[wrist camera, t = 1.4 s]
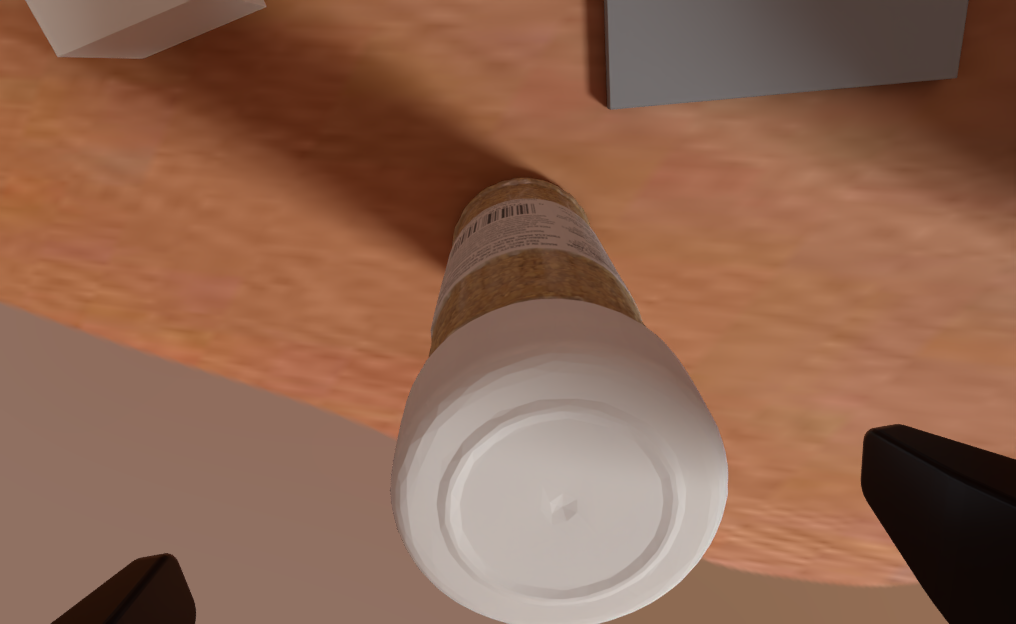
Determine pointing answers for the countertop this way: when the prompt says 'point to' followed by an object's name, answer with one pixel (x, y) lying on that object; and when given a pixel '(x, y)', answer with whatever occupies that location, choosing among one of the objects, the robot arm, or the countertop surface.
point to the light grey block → (131, 24)
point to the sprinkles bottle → (550, 428)
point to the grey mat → (773, 47)
